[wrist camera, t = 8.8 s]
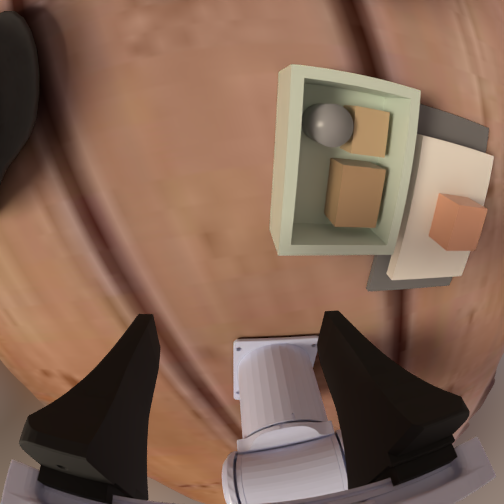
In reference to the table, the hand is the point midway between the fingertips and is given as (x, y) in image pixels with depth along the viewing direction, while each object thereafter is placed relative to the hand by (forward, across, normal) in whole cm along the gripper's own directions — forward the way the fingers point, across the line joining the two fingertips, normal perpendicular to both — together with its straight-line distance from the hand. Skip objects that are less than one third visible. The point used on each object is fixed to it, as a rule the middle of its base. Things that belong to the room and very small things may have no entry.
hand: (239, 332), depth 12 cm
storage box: (+10, -7, -6) cm, 14 cm away
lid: (+10, -17, -2) cm, 19 cm away
